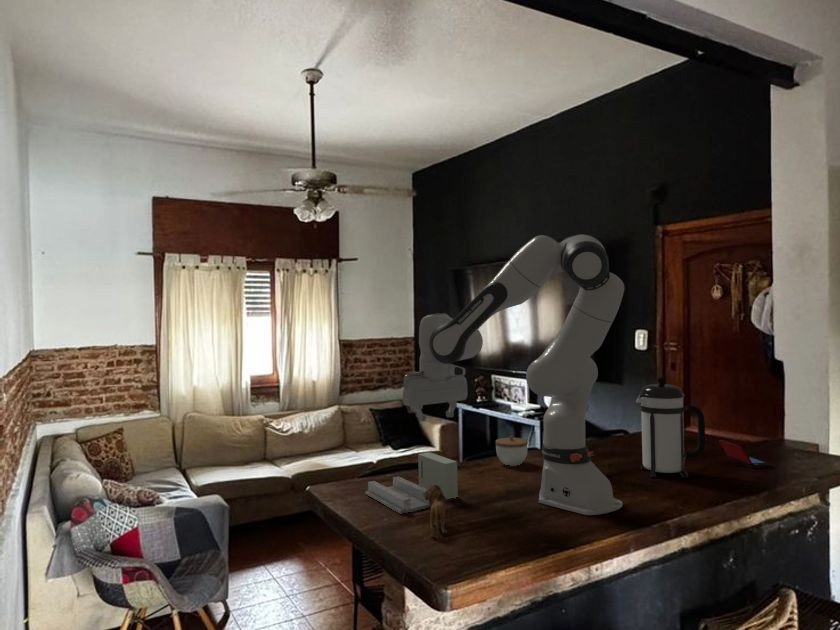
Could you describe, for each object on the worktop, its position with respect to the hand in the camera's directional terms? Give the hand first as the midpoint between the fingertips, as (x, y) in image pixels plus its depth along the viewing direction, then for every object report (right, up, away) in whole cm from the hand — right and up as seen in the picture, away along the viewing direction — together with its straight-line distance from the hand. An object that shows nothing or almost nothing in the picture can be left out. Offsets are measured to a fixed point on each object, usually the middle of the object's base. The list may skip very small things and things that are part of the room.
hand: (436, 418), depth 166 cm
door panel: (0, -21, 0) cm, 21 cm away
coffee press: (+72, -20, +15) cm, 76 cm away
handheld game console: (+101, -19, +24) cm, 106 cm away
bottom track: (-10, -21, -6) cm, 24 cm away
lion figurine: (-1, -21, -28) cm, 35 cm away
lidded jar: (+26, -21, +30) cm, 45 cm away
